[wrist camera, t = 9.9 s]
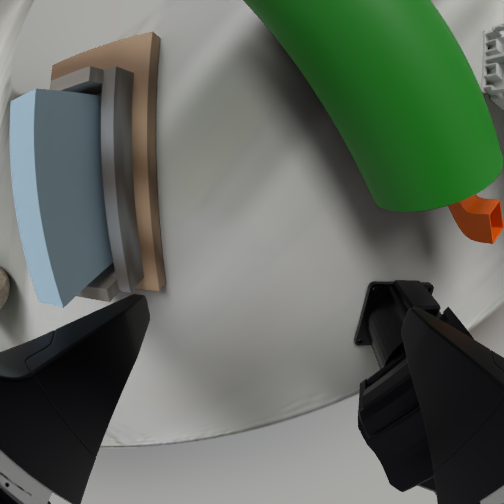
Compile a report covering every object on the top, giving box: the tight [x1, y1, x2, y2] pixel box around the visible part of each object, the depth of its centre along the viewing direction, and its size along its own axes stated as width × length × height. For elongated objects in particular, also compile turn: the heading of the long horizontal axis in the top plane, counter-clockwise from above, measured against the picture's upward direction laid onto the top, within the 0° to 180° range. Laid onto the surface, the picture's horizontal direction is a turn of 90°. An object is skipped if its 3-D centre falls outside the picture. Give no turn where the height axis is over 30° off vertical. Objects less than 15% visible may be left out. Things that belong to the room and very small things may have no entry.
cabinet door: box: [10, 89, 113, 308], centre depth 14 cm, size 12×3×8 cm, turn 179°
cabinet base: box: [50, 32, 166, 302], centre depth 16 cm, size 20×10×6 cm, turn 179°
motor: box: [243, 0, 504, 244], centre depth 12 cm, size 10×9×20 cm
